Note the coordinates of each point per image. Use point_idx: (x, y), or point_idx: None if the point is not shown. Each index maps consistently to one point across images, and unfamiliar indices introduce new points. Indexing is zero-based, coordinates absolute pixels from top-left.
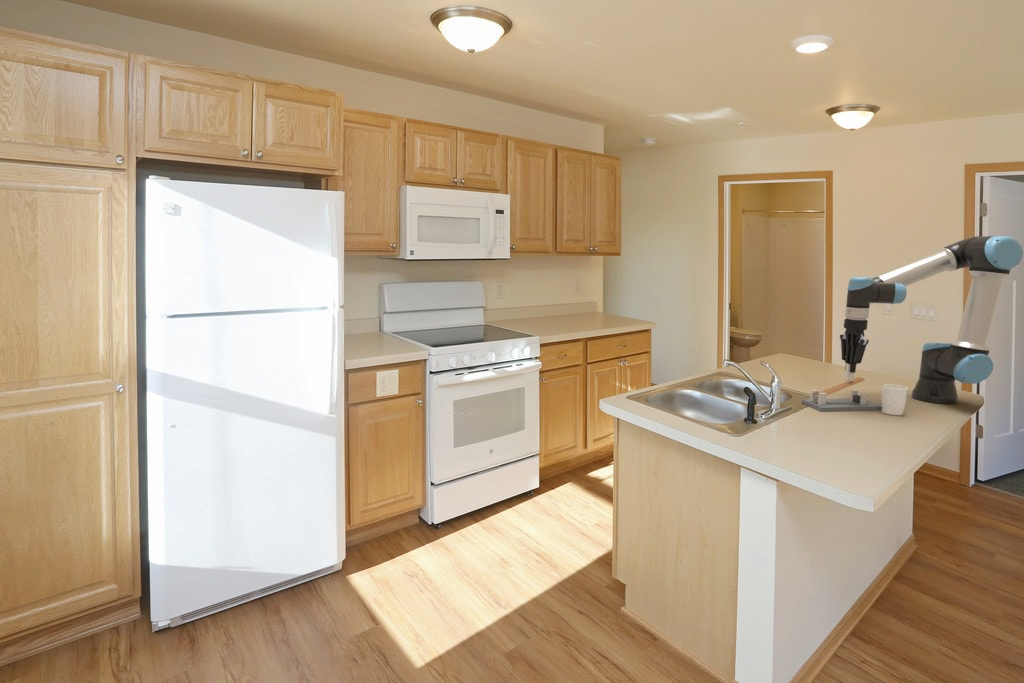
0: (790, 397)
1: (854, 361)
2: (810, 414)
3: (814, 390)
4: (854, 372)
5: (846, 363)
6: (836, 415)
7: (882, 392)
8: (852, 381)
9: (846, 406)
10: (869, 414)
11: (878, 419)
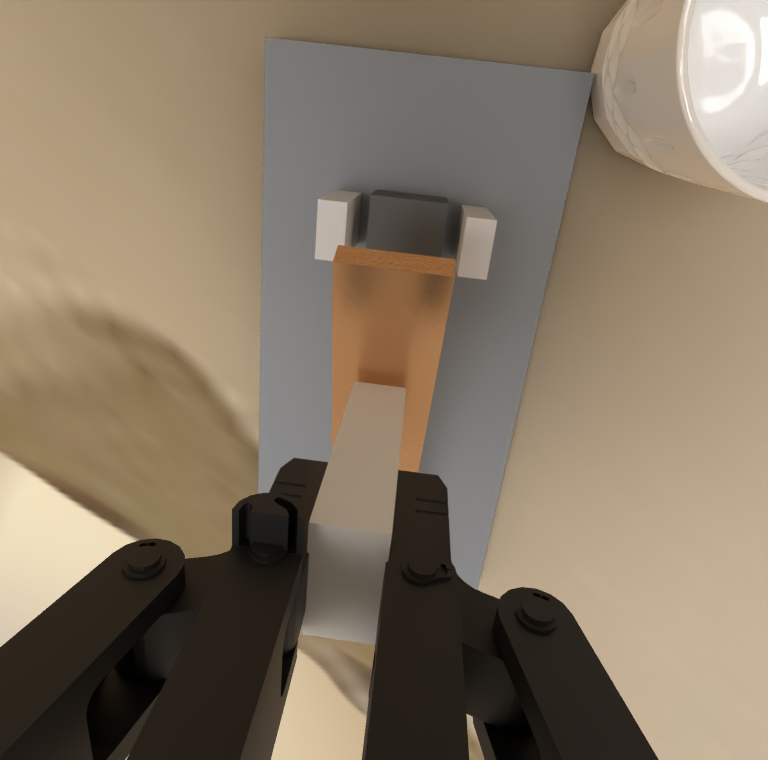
0: (120, 520)
1: (523, 735)
2: None
3: None
4: (439, 485)
5: (306, 630)
6: (573, 553)
7: (694, 176)
8: (391, 385)
9: (496, 425)
10: (637, 324)
11: (764, 366)
